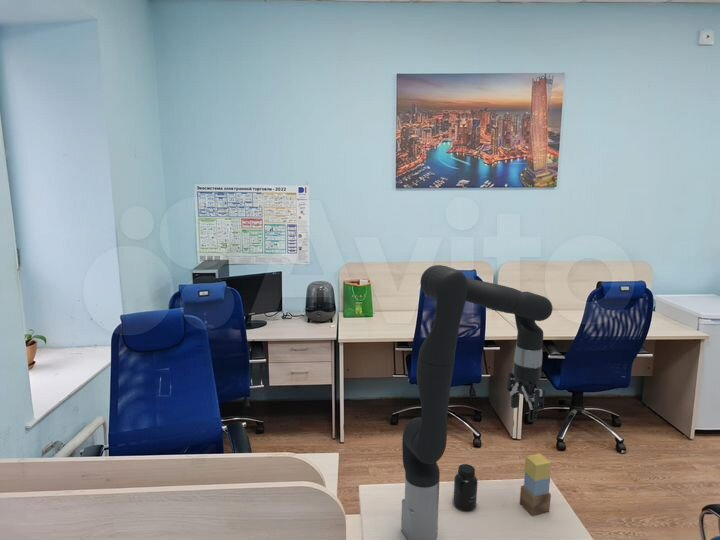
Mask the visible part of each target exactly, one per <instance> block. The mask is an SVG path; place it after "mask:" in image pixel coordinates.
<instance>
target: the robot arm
mask: <svg viewBox="0 0 720 540" xmlns="http://www.w3.org/2000/svg"><path fill="white" fill-rule="evenodd" d="M420 288H421V290H422V292H423V293H424V295H425V296H427V297H428V298H429V299H431V300H433V301H435V303H436V304H435V305H436V306H435V315H434V321H433V326H432V327H431V329H430V331H429V332H428V334H427V335H426V338H425V339H424V340H423V342H422V343H421V345H420V348H419V351H418V356H417V357H418V358H417V363H416V364H417V365H416V383H417V389H418V394H419V395H418V396H419V400H420V407H421V416H417V417H414V418H412V419H410V420H409V421H408V422H407V423H406V425H405V426H404V429H403V433H402V439H401V440H402V442H401V443H402V444H401V445H402V446H401V447H402V451H401V452H402V465H403V469H404V473H405V474H404V475H405V479H404V480H405V482H404V498H403V499H401V516H400V517H401V519H400V520H401V522H400V523H401V525H400V526H401V527H400V530H401V532H402V533H403V535H404V537H405V539H406V540H437V539H438V530H439V528H438V527H439V526H438V525H439V524H438V523H439V500H440V499H439V497H440V496H439V495H440V479H441V477H440V475H441V473H440V468H439V466H438V463H437V462H438V461H440V459H441V458H442V456H444V453H445V451H446V447H447V438H448V437H447V436H448V412H449V404H450V397H451V396H450V395H451V387H452V386H451V385H452V380H453V374H454V367H455V358H456V349H457V343H458V338H459V331H460V324H461V322H462V321H461V320H462V316H463V312H464V308H465V304H466V302H468V303H471V304H475V305H477V306H480V307H483V308H486V309H489V310H493V311H496V312H501V313H506V314H512V315H514V320H515V325H516V330H517V335H516V345H515V351H514V356H513V357H514V361H513V371H512V372H508V377H507V384H506V391H507V392H509V395H510V397H511V398H510V407H511V408H512V409H517V408H518V407H519V403H520V395H522V396H523V397H524V399H525V401H526V402H527V403H528V407H529V409H528V422H531V423H533V422H536V421H537V419H538V411H542V410H545V398H546V396H545V394H546V393H545V389H544V388H539V387H538V381H540V380H541V377H542V376H541V374H542V365H543V344H544V330H543V329H542V328H541V327H540V326H539V325H538V324H537V323H536V322H541V321H545V320H547V319H549V317H550V316H551V315H552V313H553V304H552V302H551V301H550V299H548V297H545V296H543V295H540V294H537V293H533V292H531V291H521V290H519V289H516V288H514V287H509V286H506V285H501V284H498V283H493V282H487V281H482V280H478V279H475V278H471V277H466V274H464V273H463V272H462V271H460V270H458V269H456V268H453V267H449V266H447V265H442V264H441V265H440V264H435V265H432V266H429V267H428V268H426V269H425V270H424V271H423V273H422V275H421V277H420Z"/></svg>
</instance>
